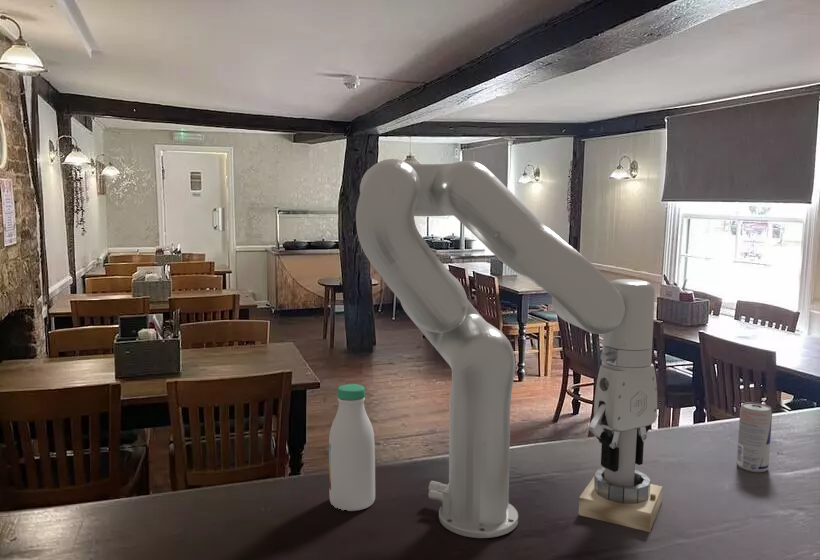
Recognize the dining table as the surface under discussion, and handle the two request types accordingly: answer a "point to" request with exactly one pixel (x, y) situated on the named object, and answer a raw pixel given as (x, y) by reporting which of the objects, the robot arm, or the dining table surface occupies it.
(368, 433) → the milk bottle
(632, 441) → the beverage can
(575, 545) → the dining table surface
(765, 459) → the energy drink
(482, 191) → the robot arm
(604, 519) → the mount block
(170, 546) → the dining table surface
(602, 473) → the mount ring
